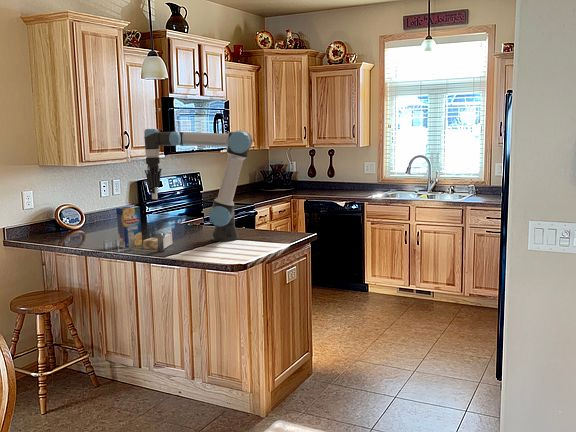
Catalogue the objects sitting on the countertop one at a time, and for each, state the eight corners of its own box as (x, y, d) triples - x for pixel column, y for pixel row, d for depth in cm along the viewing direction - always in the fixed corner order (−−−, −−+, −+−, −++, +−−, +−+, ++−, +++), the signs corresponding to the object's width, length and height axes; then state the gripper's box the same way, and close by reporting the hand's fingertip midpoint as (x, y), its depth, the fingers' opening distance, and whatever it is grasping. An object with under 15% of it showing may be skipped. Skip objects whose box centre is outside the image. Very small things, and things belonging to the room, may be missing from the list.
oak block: (164, 247, 326) (163, 238, 325) (155, 250, 319) (154, 241, 318) (152, 246, 329) (151, 237, 328) (143, 249, 322) (143, 240, 321)
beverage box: (142, 244, 334) (139, 206, 330) (125, 248, 326) (122, 209, 322) (135, 243, 338) (133, 205, 335) (118, 246, 330) (116, 208, 327)
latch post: (135, 249, 321) (134, 231, 319) (131, 250, 318) (130, 232, 316) (132, 249, 321) (131, 231, 320) (129, 250, 319) (127, 232, 317)
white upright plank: (164, 249, 315) (163, 236, 313) (160, 249, 315) (159, 236, 314) (172, 243, 329) (171, 231, 328) (169, 243, 330) (168, 231, 328)
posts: (165, 251, 314) (163, 233, 312) (161, 252, 311) (160, 234, 309) (135, 249, 321) (134, 231, 319) (132, 250, 318) (131, 232, 316)
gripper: (153, 156, 331) (156, 197, 334) (139, 157, 319) (142, 200, 322) (164, 156, 328) (167, 197, 331) (151, 157, 316) (153, 200, 320)
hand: (154, 198), depth 327 cm, fingers closed
